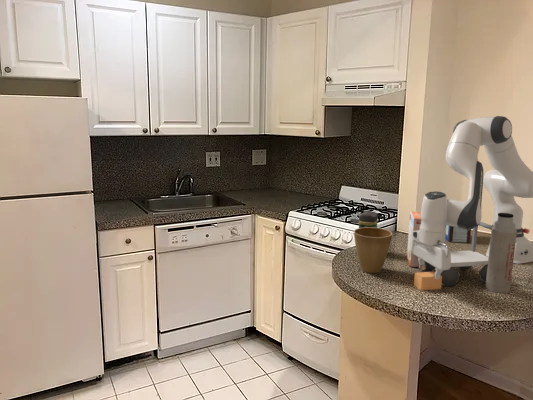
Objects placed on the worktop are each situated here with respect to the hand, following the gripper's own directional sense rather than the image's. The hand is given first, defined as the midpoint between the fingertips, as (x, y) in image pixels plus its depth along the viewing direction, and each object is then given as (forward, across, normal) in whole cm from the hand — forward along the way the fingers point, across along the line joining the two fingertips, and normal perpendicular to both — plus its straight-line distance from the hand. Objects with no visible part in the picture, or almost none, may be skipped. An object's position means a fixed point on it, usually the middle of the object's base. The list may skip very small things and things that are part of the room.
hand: (429, 273), depth 166 cm
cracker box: (+5, +26, -10) cm, 29 cm away
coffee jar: (+5, +44, +5) cm, 45 cm away
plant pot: (+5, +20, +13) cm, 25 cm away
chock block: (+5, 0, 0) cm, 5 cm away
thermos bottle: (+5, -6, -24) cm, 25 cm away
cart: (+5, +8, -17) cm, 19 cm away
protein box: (+6, +58, -50) cm, 77 cm away
